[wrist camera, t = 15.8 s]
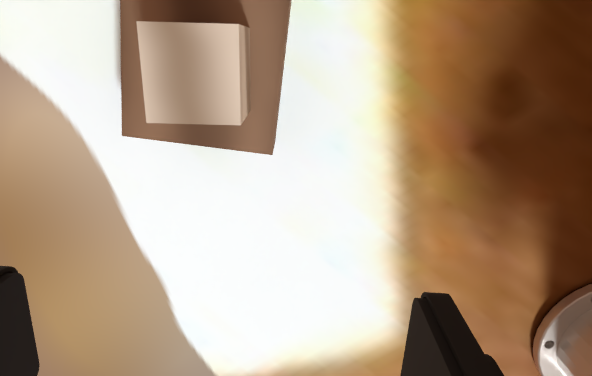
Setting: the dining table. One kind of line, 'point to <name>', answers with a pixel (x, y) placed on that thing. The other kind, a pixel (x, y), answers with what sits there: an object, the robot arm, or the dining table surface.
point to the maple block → (195, 72)
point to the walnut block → (263, 70)
